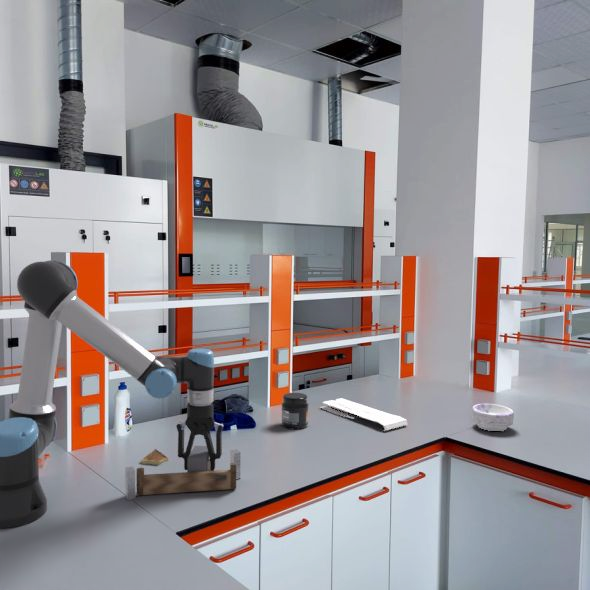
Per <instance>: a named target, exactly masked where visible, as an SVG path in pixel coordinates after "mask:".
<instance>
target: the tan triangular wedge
mask: <svg viewBox="0 0 590 590" xmlns="http://www.w3.org/2000/svg"><path fill="white" fill-rule="evenodd" d="M140 461H141V465H143V464H144V465H151V464H152V466H159V465H161V464H163V463H166V462H168V461H169V458H168V457H167V456H166V455H165V454H163V452H161V451H159V450H158V449H157V448H155V449H153V450H152V452H149V453H148V454H147V455H146V456H145V457H143V458H142V459H141V460H140Z"/></svg>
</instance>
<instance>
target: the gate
mask: <svg viewBox="0 0 590 590" xmlns="http://www.w3.org/2000/svg"><path fill="white" fill-rule="evenodd" d="M229 464H230V467H229V469H219V470H214V471H199V472H187V471H185V472H184V471H183V472H169V473H164V472H163V473H150V474H145V468H144V467H137V468H136V495H137V496H145V495H159V494H161V495H162V494H171V493H173V494H174V493H176V494H177V493H190V492H193V493H194V492H203V491H218V490H219V491H220V490H221V491H222V490H235V489H237V479H236V463H229Z"/></svg>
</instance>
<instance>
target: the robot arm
mask: <svg viewBox="0 0 590 590" xmlns="http://www.w3.org/2000/svg"><path fill="white" fill-rule="evenodd" d="M16 282H17V283H16V284H17V285H16V288H17V291H18V294H19V296H20V297H21V298H22V300H23V301H24V306H23V307H24V308H23V309H24V310H25V311H26V312H27V313H28V321H27V329H26V334H25V335H26V336H25V342H24V349H23V350H24V351H23V357H22V364H21V371H20V372H21V373H20V378H19V385H18V392H17V399H16V400H15V401H14V402H12V403H11V404H10V405H9V411H8V412H9V413H8V417H7V418H5V419H3V420H2V421H0V529H8V528H15V527H20V526H23V525H26V524H29V523H31V522H34V521H36V520H38V519H39V518H41V517H42V516H44V515H45V513H46V512H47V510H48V499H47V497H46V495H45V492H44V489H43V487H42V484H41V483H40V477H39V476H40V473H39V471H40V470H39V469H40V468H39V467H40V466H39V457H40V455H42V453H43V452H44V450H45V449H46V448H47V447H48V446H49V445H50V444H51V443H52V442H53V439H54V438H55V436H56V433H57V429H58V423H57V419H56V412H57V406H56V405H55V403H53V402H52V397H53V390H54V384H55V377H56V371H57V365H58V364H57V362H58V358H59V349H60V345H61V344H60V343H61V335H62V330H63V326H64V327H66V328H67V329H68V330H69V331H71V332H72V333H74V334H75V335H76V336H77V337H79V338H80V339H81V340H83V341H85V343H87V344H88V345H89V346H91V347H92V348H93V349H95V350H96V351H98V352H99V353H101V354H102V355H103V356H104V357H106V358H107V359H108V360H109V361H111V362H112V363H113V364H115V366H118V367H119V368H120V369H122V370H123V371H124V372H126V373H127V374H128V375H130V376H131V377H132V378H134V379H135V380H136V381H137V382H139V383H140V384H141V385H143V386H144V387H145V389H146V392H147V393H148V395H150V396H151V397H152V398H155V399H159V400H160V399H165V398H167V397H169V396H170V395H171V394H173V392H174V390H175V389H176V386H177V385H178V384H187V389H186V390H187V391H186V392H187V395H186V397H187V398H186V399H187V406H186V420H185V421H179V422H178V423H177V424H176V429H177V433H178V434H177V436H178V438H177V458H182V459H183V460H184V461H183V463H184V465H183V469H184V470H185V471H187V458H188V456H189V455H190V453H191V451H192V450H193V447H194V446H193V445H194V442H195V439H196V436H199V435H201V436H203V439H204V440H205V446H207V449H208V453H209V457H210V458H209V459H208V461H207V471H215V469H216V460H219V459H221V457H222V454H223V452H222V450H223V449H222V448H223V447H222V446H223V443H222V442H223V441H222V440H223V437H222V435H223V434H222V432H223V431H222V430H223V428H224V423H223V422H221V423H219V422H216V420H215V418H214V403H213V402H214V399H215V398H214V395H215V394H214V391H215V388H214V385H215V384H214V381H215V359H214V358H215V355H214V352H213V351H212V350H211V349H208V348H192V349H189V350H188V351H187V355H186V356H155V355H154V354H153V353H151V352H150V351H149V350H147V348H145V347H143V346H142V345H141V344H140V343H138V342H136V341H135V340H134V339H133V338H132V337H130V336H129V335H128V334H126V333H125V332H124V331H123V330H122V329H120V328H119V327H118V326H116V325H115V324H113V323H112V322H111V321H110V320H109V319H107V318H105V317H104V316H103V315H102V314H100V312H98V311H97V310H95V309H94V308H93V307H92V306H90V305H88V303H86V302H85V301H83V299H81V298H79V296H78V293H77V292H78V291H77V289H78V278H77V274H76V272H75V271H74V269H73V268H72V267H71V266H69V265H67V264H66V263H65V262H62V261H57V260H52V259H51V260H46V261H45V260H44V261H36V262H31V263H30V264H28V265H26V266H25V267H23V269H22V270H21V272H19V275H18V276H17V281H16ZM186 427H187V428H188V430H189V431H190V434H189V438H188V442H187V446H186V449H185V430H186ZM213 428H214V430H215V431H216V432H215V433H216V434H215V439H216V440H215V441H216V443H215V448H214V444H213V440H212V436H211V430H212V429H213Z"/></svg>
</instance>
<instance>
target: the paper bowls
mask: <svg viewBox="0 0 590 590" xmlns="http://www.w3.org/2000/svg"><path fill="white" fill-rule="evenodd" d="M471 408H472V409H471V420H472V422H474V423H476V425H477V427H478V428H479V429H480V428H481V430H482V429H484V430H483V431H485V430H489V431H502V432H504V430H505V431H506V430H507V429H508V427H511V426H512V425H514V416H515V415H514V411H513V409H511V408H510V407H507V406H505V405H501V404H494V403H478V404H477V403H476V404H475V405H473V406H472V407H471ZM489 431H488V432H489Z"/></svg>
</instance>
